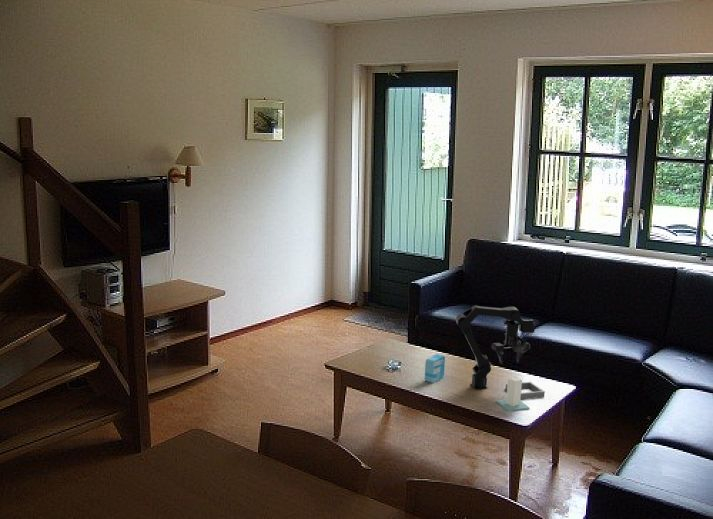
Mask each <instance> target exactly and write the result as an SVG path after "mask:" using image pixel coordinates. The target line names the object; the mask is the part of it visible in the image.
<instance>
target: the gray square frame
mask: <svg viewBox="0 0 713 519" xmlns="http://www.w3.org/2000/svg"><path fill="white" fill-rule="evenodd" d="M507 385H508V383H505V390H506V391H507ZM526 388H529V389H531V390H532V391H527V392H521V398H520V400H523V399H531V398H533V399H534V398H541V397H542V398H544V397H545V393H546V392H545V390H543V389H542V388H540V387H539V386H537V385H536V384H534V383H533V382H532V381H526V382H525V381H522V386H521V389H526Z"/></svg>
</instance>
